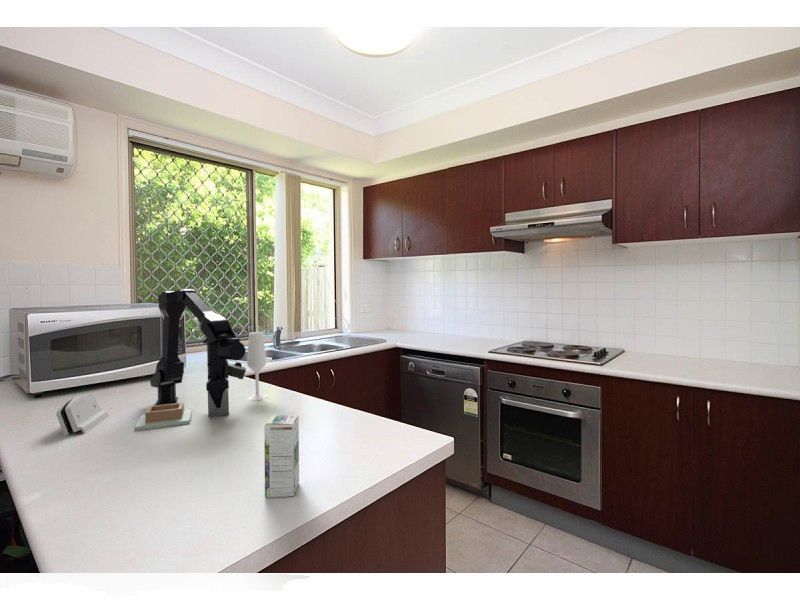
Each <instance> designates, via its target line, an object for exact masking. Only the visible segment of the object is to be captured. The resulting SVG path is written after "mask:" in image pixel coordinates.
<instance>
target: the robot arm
mask: <svg viewBox="0 0 800 600" xmlns="http://www.w3.org/2000/svg"><path fill="white" fill-rule="evenodd" d="M157 302H158V309H159V311H160V313H161V314H162V316H163V330H162V331H163V332H162V333H163V334H162V351H161V352H162V355H161V358H160V359H159V361H158V362H157V363H156V367H155V371H154V373H153V375H152V377H151V378H150V379H149V383H150V386H151V387H153V388H157V400H156V402H155V406H156V405H166V404H175V403H178V399H179V397H178V396H177V384H181V383H182V382H183V378H184V373H185V370H184V367H185V363H184V361H181V359H180V358H179V347H180V346H179V343H180V342H179V341H180V340H179V339H180V326H181V325H180V323H181V316H182V315H183V313H184V312H185V310H186V308H187V309H188V310H189V311H190V312H191V313H192V315H194V316H195V318H196V319H197V321H199V323H200V324H199V329H200V330H201V332H202V333H203V335H204V337H206V338H205V339H204V340H203V341H202V343H203V344H205V345H206V353H207V354H206V355H207V357H206V358H207V362H206V363H207V364H206V366H207V381H206V386H205V388H206V389H205V390H206V392H207V393H208V392H209V394H210V396H211V398H212V400H213V402H214V404H215V406H216V408H220V407H221V402H222V396H223V392H224V391H225V390H226V389H228V390H229V389H230V388H229V387H230V386H229V385H230V384H229V377H234V378H237V379H239V380H244V377H245V374H246V371H247V368H246V367H244V366H242V362H240V360H242V359H243V358H244V357H245V354H246V347H245V344H244V343H242V342H241V341H240V337H237V336H236V333H235V331H234V330H233V328H232V327H231V324H230V322H229V320H228V319H227V318H225V317H224V316H222V314H218V313H215V312H214V311H212V310H211V307H209V306H208V305H207V304H206V303H205V301H203V299H202V298H201V297H200V296H199V295H198V294H197V291H196V290H195V289H192V288H182V289H181V288H180V289H179V290H175V291H162V292H161V293H160V294H159V295H158V297H157ZM229 360H230V361H236V362H235V363H234V364H231V363H229Z"/></svg>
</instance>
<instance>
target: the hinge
mask: <svg viewBox="0 0 800 600" xmlns="http://www.w3.org/2000/svg"><path fill="white" fill-rule="evenodd" d="M55 415H56V417H57V420H58V423H59V425H60V429H61V431H62V433H63V435H66V436H69V435H70V434H72V433H76V432H79V431H81V433H82V434H83V433H85V434H87V433H88V432H90V431H91V430H92V429H94V428H95V427H96V425H97V424H98V423H99V424H101V423H102V422H103V421H105V420H106V419H107V418H106V417H108V416H109V417H110V415H109V413H108V412H107V410H103V409H102V408H101V407H100V404H99V403H98V400H97V399H96V397H95V395H93V394H82V395H78V396H76V397H74V398H70V399H68V400H67V401H65V402H64V403H62V404H61V405H60V407H59V408H58V409H57V410H56V414H55ZM109 417H108V418H109ZM105 418H106V419H105ZM104 419H105V420H104ZM102 420H103V421H102ZM101 421H102V422H101ZM100 422H101V423H100ZM99 424H98V425H99ZM98 425H97V426H98ZM94 426H95V427H94ZM93 427H94V428H93ZM90 429H91V430H90ZM89 430H90V431H89ZM87 431H88V432H87ZM86 432H87V433H86Z"/></svg>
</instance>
